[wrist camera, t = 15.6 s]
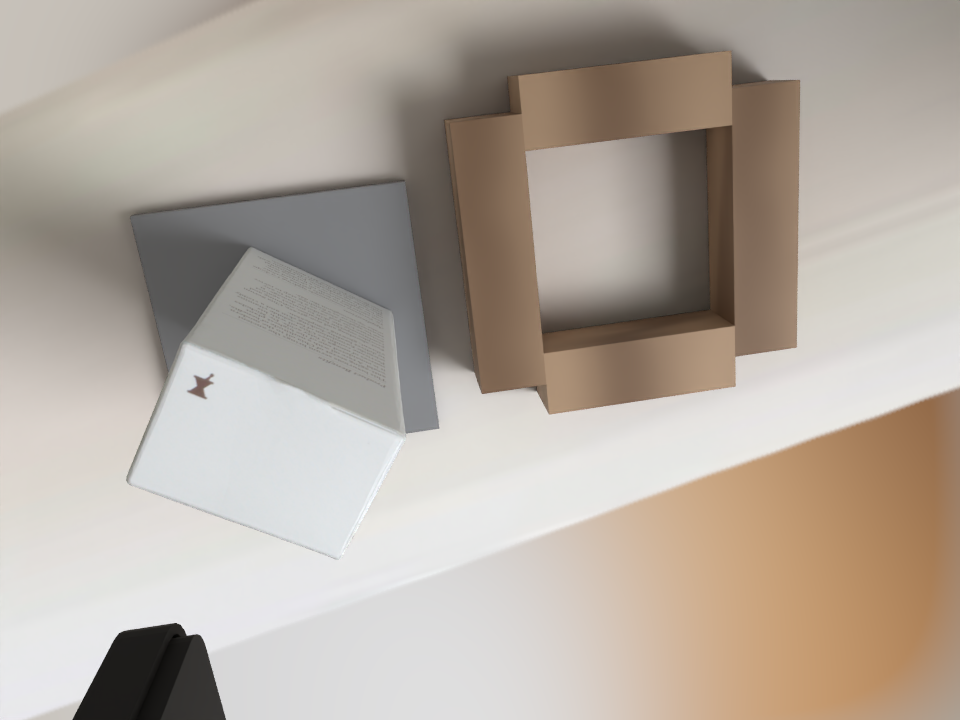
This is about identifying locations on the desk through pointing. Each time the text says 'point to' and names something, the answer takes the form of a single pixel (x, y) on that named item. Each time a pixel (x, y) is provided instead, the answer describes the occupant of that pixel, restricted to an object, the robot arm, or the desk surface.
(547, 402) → the box
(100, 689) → the robot arm
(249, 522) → the skincare box
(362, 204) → the grey rubber mat
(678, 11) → the desk surface
